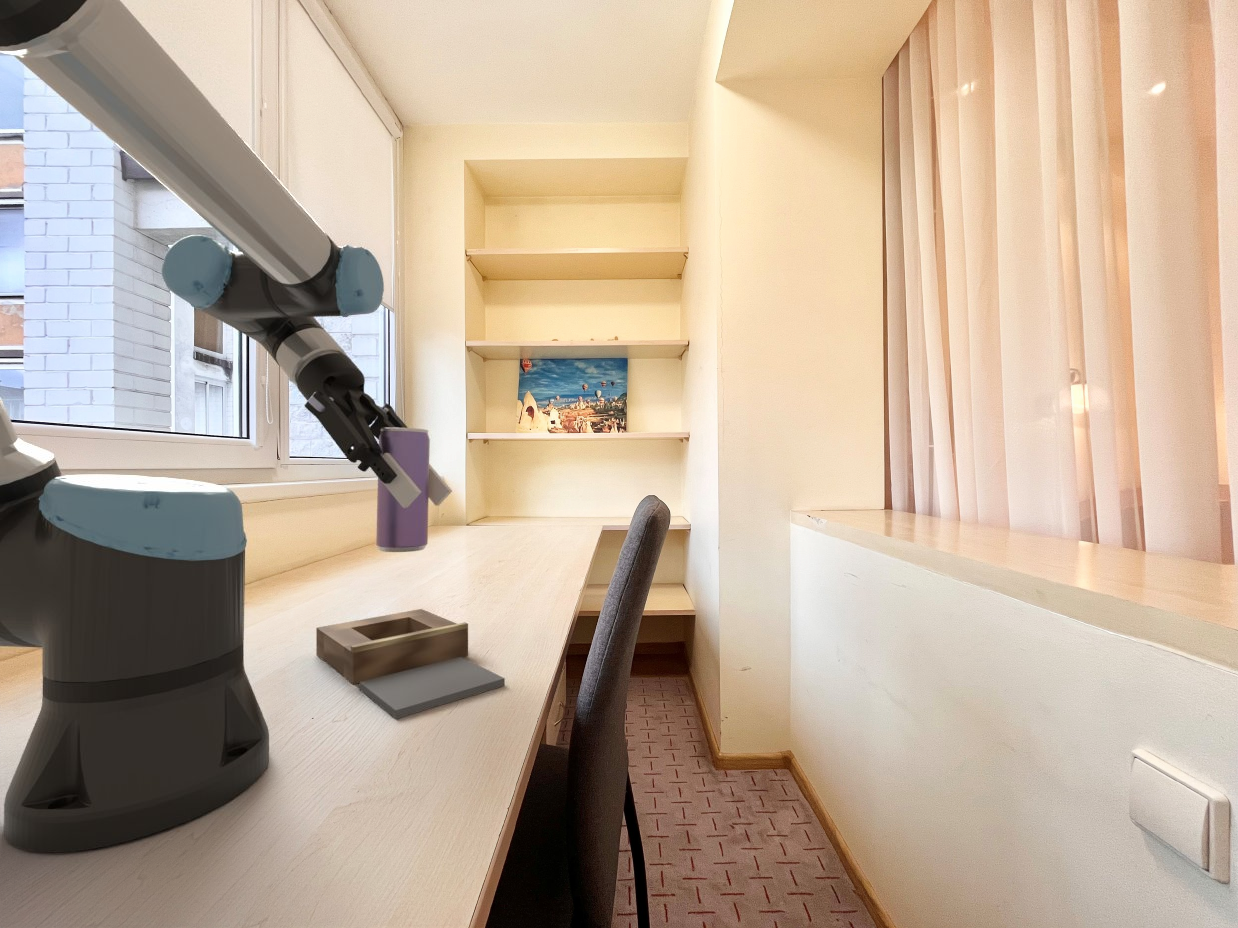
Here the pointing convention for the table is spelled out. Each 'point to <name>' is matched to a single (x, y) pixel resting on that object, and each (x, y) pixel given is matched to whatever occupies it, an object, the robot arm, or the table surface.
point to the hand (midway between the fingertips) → (428, 498)
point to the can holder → (390, 644)
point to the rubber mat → (429, 686)
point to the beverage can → (393, 521)
